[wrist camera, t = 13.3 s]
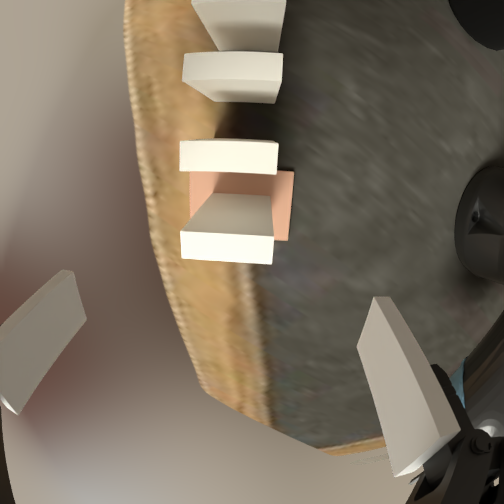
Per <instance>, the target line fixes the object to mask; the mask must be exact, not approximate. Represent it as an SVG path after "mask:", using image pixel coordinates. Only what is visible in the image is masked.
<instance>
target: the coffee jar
mask: <svg viewBox="0 0 504 504" xmlns="http://www.w3.org/2000/svg"><path fill="white" fill-rule="evenodd" d="M449 2H450V6H451V8H452V11H453V13H454V15H455V17H456V18H457V20H458V21H459V23H460V24H461V26H462V27H463V28H464V29H465V30H466V32H467V33H468V34H469V35H470V36H471V37H472V38H473V39H474V40H475V41H477V42H479V43H480V44H482V45H483V46H485V47H487V48H490V49H493V50H496V51H497V50H503V49H504V0H449Z"/></svg>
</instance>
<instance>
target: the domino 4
mask: <svg viewBox="0 0 504 504" xmlns="http://www.w3.org/2000/svg"><path fill="white" fill-rule="evenodd" d="M180 235H181V253H182V258H184V259H199V260H213V261H228V262H243V263H259V264H272V255H273V244H274V230H273V219H272V208H271V198H270V196H264V195H247V194H226V193H212V194H211V195H210V196H209V198H208V199H207V200H206V201H205V202H204V203H203V205H202V206H201V207H200V208H199V209H198V211H197V212H196V213H195V214H194V215H193V216H192V218H191V219H190V220H189V221H188V223H187V224H186V225H185V226H184V227H183V229H182V230H181V231H180Z"/></svg>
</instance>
